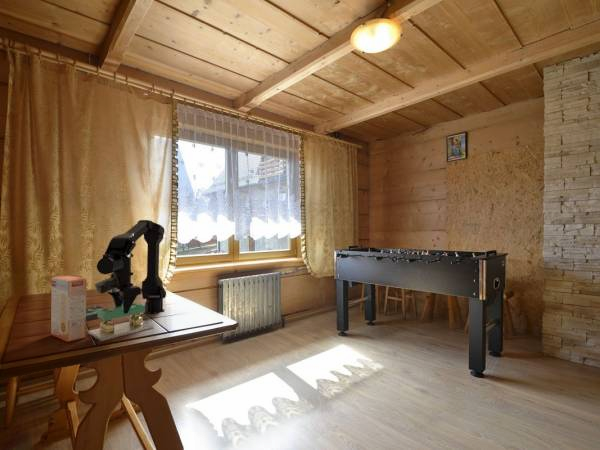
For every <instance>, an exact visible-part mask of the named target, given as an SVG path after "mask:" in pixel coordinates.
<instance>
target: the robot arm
mask: <svg viewBox="0 0 600 450" xmlns="http://www.w3.org/2000/svg"><path fill="white" fill-rule="evenodd" d="M164 235H165V228H164V226H163V225H161V223H156V222H154V221H153V220H150V219H141V220H140V219H139V220H138V221H137V222H136V223H135V225H133V226H132V227H131V228H130V229H129V230H127V231H126V232H124V233H122V234H118V235H115V236H113V237H112V238H111V239H110V241H109V243H108V245H107V248H106V250H105V252H104V254H102V258H101V259H99V260H98V262H97V264H96V269H97V271H98V272H99V274H101V275H108V274H109V276H110V277H108V278H106V279H105V278H104V280H101V281H99V282H97V283H95V284H94V287H95V288H96V291H97V293H99V294H101V295H103V294H105V293H107V294H108V295H110V296H111V297H112V300H113V303H114V305H115V306H114V307H118V306H123V309H124V313H125V314H126V313H128V312H129V310H130V308H131V306H132V304H134V303H135V302H134V301H135V300H136V299H137V297H138V296H140V295H141V296H142V300H145V302H144V305H145V312H144V313H147V314H150V315H151V314H156V313H160V312H161V313H163V312H165V309H164V306H163V305H164V304H163V303H164V300H163V299H166V297H167V291H166V289H165V287H164V286H163V280H162V279H161V277H160V276H159V275H160V274H159V273H160V244H161V242H163V240H164ZM142 236H143V240H144V241H145V243H146V244H147V254H146V255H147V256H146V258H147V259H146V277H145V279H144V280H142V282H141V287H140V286H138V285H134V283H132V276H134V272H132V258H133V257H134V254H133V253H132V252H133V250H134V249H135V248H136V246H137V241H138V240H139V239H140V238H141V237H142Z"/></svg>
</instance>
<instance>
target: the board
mask: <svg viewBox="0 0 600 450" xmlns="http://www.w3.org/2000/svg"><path fill="white" fill-rule="evenodd" d="M138 313H140V314H142V313H146V312H145V304H142V303H138V302H133V304H132V306H131V308H130V310H129V312H128V313H126V314H125V313H124V309H123V305H122V306H118V307H116V306H114V307H109V308H108V307H107V308H105V309H102V310H98V318H97V319H100V320H101V321H103V320H104V321H105V320H110V319H111V320H113V319H118V318H123V317H128V316H131V315H133V314H138Z"/></svg>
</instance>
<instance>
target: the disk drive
mask: <svg viewBox="0 0 600 450" xmlns="http://www.w3.org/2000/svg"><path fill="white" fill-rule="evenodd" d="M102 309H106V308H104V307H102V306H99V305H93V306H88V307H87V306H86V321H87V322H88V321H91V320H95V319H96V320H97V319H99V318H98V310H102Z"/></svg>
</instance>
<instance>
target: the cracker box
mask: <svg viewBox="0 0 600 450" xmlns="http://www.w3.org/2000/svg"><path fill="white" fill-rule="evenodd" d="M50 301H51V305H50V306H51V307H50V308H51V313H50V314H51V316H50V317H51V318H50V319H51V321H50V335H51V336H53V337H55V338H58V339H59V340H62V341H65V342H67V343H69V342H73V341H77V340H81V339H84V338H86V337H87V336H86V333H87V332H86V331H87V329H86V328H87V325H86V323H87V322H86V308H87V278H83V277H78V276H73V275H62V276H61V275H60V276H54V277H51V300H50Z"/></svg>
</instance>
